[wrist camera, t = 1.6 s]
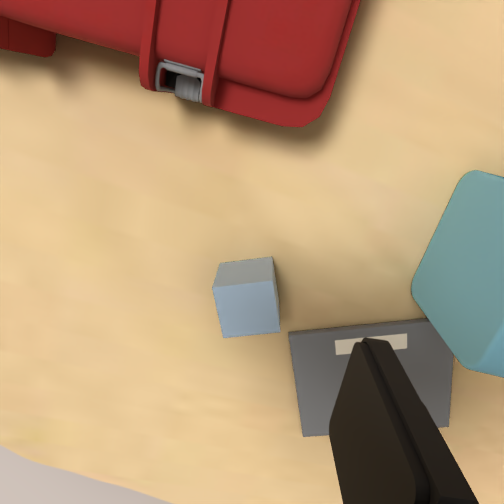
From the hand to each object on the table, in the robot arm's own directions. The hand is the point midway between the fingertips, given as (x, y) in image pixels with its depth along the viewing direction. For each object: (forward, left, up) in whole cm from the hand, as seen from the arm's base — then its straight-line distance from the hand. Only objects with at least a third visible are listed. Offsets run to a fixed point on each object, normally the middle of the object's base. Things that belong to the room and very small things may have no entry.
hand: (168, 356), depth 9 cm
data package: (-18, +8, -24) cm, 31 cm away
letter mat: (-10, +23, -24) cm, 35 cm away
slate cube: (+1, +10, -24) cm, 26 cm away
